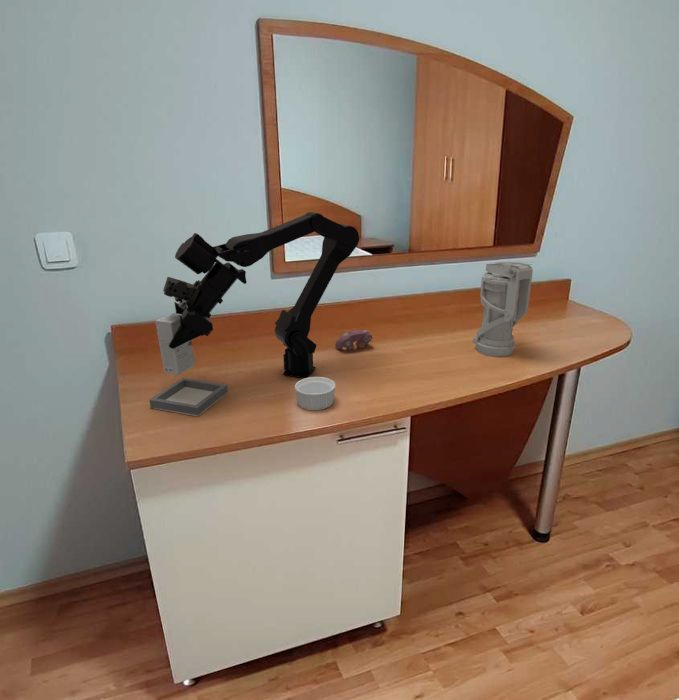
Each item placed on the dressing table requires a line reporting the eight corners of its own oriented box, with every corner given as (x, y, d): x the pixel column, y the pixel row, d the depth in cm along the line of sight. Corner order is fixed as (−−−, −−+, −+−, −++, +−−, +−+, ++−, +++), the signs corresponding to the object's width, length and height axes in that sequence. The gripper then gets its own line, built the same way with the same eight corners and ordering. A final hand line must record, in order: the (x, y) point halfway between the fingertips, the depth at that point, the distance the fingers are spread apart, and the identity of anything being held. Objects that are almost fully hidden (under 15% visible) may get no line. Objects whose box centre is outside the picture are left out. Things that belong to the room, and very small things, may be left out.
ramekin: (339, 409, 110) (339, 391, 108) (298, 414, 108) (297, 395, 107) (331, 392, 118) (331, 374, 117) (293, 396, 117) (292, 378, 115)
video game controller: (339, 357, 142) (343, 339, 137) (333, 345, 145) (337, 328, 140) (370, 351, 146) (376, 334, 141) (364, 340, 149) (369, 323, 144)
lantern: (467, 347, 144) (475, 258, 135) (496, 341, 148) (505, 255, 139) (499, 363, 133) (510, 267, 124) (529, 356, 137) (542, 263, 128)
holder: (227, 392, 118) (227, 384, 117) (197, 416, 108) (196, 408, 107) (183, 385, 122) (182, 377, 121) (150, 408, 111) (149, 399, 111)
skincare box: (179, 375, 112) (171, 322, 107) (162, 373, 113) (153, 321, 108) (196, 364, 117) (189, 314, 112) (180, 362, 118) (172, 312, 114)
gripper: (178, 255, 116) (135, 309, 116) (188, 272, 99) (138, 334, 100) (217, 285, 121) (176, 336, 122) (233, 305, 105) (185, 364, 105)
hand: (169, 342), depth 112 cm, fingers closed on skincare box, 7 cm apart
